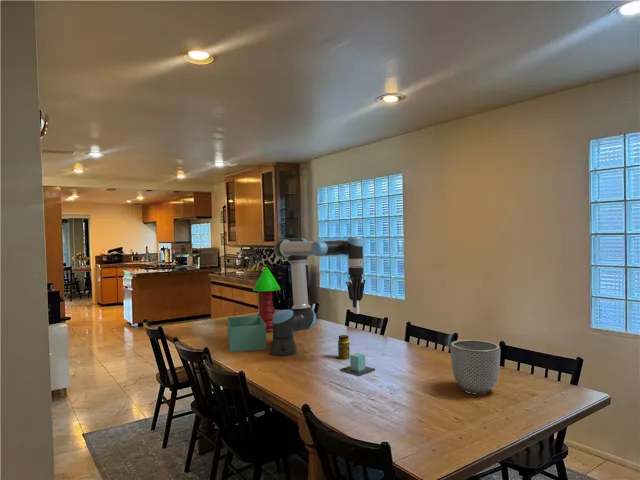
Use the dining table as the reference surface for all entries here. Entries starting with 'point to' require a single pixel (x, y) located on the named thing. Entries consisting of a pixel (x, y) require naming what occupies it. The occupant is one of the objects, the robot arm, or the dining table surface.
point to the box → (246, 333)
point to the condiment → (343, 348)
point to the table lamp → (267, 297)
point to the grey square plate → (358, 373)
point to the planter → (475, 364)
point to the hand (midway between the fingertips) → (356, 313)
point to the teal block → (357, 362)
